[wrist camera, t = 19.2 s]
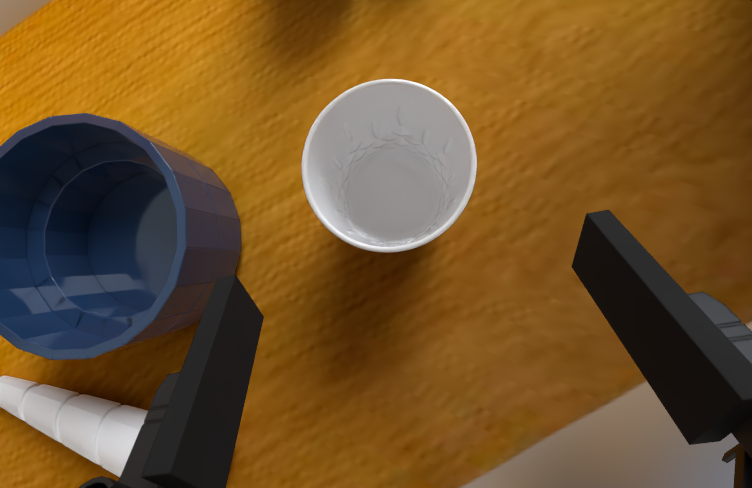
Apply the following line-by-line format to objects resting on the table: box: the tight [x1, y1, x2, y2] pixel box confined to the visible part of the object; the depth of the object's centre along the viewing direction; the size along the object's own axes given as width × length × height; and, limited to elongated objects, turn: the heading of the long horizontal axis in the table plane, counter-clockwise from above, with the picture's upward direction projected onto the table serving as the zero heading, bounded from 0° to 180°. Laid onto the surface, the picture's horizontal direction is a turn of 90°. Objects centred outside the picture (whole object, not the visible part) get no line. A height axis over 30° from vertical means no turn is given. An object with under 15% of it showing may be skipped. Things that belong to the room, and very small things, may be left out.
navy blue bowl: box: [0, 113, 241, 360], centre depth 24 cm, size 14×14×7 cm
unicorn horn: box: [0, 375, 148, 477], centre depth 25 cm, size 5×24×5 cm, turn 72°
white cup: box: [302, 79, 477, 253], centre depth 21 cm, size 8×8×10 cm
